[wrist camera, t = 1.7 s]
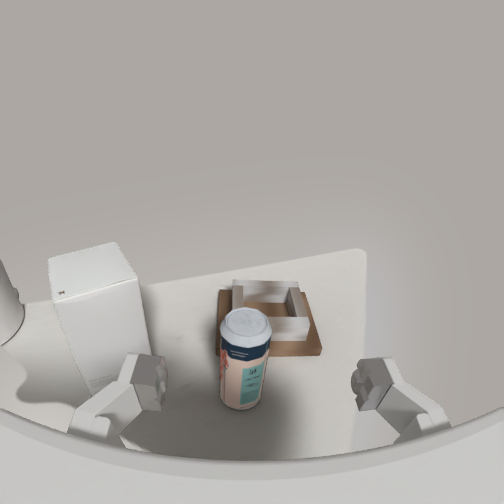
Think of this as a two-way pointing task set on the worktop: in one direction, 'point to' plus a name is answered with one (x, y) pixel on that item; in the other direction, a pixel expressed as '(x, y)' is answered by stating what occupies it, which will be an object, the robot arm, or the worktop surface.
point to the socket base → (275, 315)
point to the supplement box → (99, 311)
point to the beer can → (243, 357)
